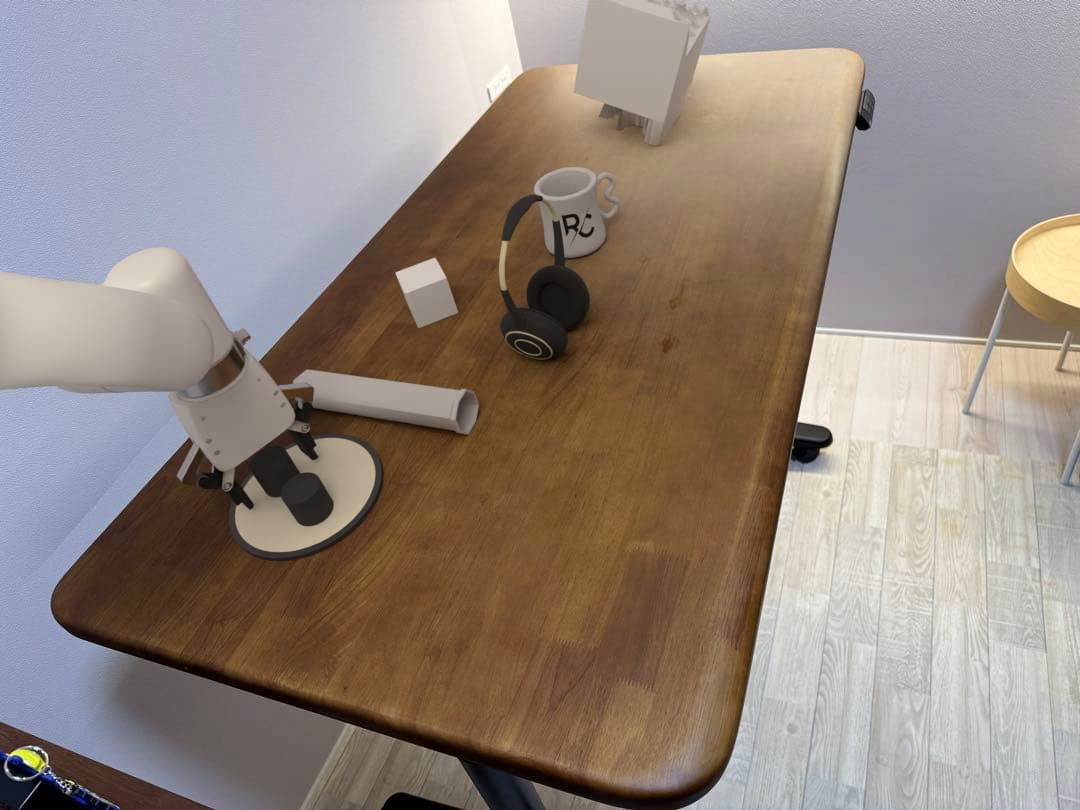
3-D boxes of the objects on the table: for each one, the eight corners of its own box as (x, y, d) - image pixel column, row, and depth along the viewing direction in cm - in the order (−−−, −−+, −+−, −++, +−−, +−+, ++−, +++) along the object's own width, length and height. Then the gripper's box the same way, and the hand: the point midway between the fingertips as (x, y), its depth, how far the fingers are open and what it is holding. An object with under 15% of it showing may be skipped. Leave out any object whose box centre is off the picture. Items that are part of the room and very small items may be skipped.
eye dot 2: (309, 533, 84) (294, 510, 81) (288, 514, 87) (273, 491, 84) (341, 506, 86) (327, 483, 83) (320, 489, 88) (306, 466, 86)
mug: (562, 268, 112) (549, 207, 105) (536, 241, 118) (522, 181, 111) (637, 236, 114) (629, 173, 107) (608, 211, 120) (599, 151, 113)
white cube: (458, 312, 109) (446, 277, 105) (418, 328, 108) (404, 293, 104) (447, 291, 113) (435, 257, 109) (408, 306, 112) (394, 272, 108)
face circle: (282, 590, 80) (279, 587, 79) (204, 509, 91) (201, 505, 90) (414, 479, 87) (412, 475, 87) (328, 416, 98) (326, 413, 98)
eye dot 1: (276, 503, 88) (261, 481, 85) (257, 486, 91) (242, 463, 88) (308, 479, 90) (294, 456, 87) (288, 462, 93) (274, 439, 90)
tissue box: (604, 88, 147) (632, -54, 127) (684, 115, 144) (725, -26, 124) (564, 142, 134) (588, -6, 115) (651, 172, 132) (690, 26, 112)
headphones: (497, 373, 98) (454, 237, 84) (546, 302, 106) (515, 168, 93) (558, 384, 94) (524, 244, 80) (604, 309, 103) (580, 171, 89)
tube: (277, 395, 97) (450, 422, 87) (295, 358, 99) (465, 381, 89) (302, 414, 101) (468, 442, 91) (318, 378, 103) (483, 402, 93)
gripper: (260, 307, 84) (322, 419, 96) (111, 403, 76) (199, 512, 88) (295, 330, 79) (356, 445, 91) (141, 434, 72) (229, 544, 84)
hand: (278, 477), depth 90 cm, fingers open, 8 cm apart
